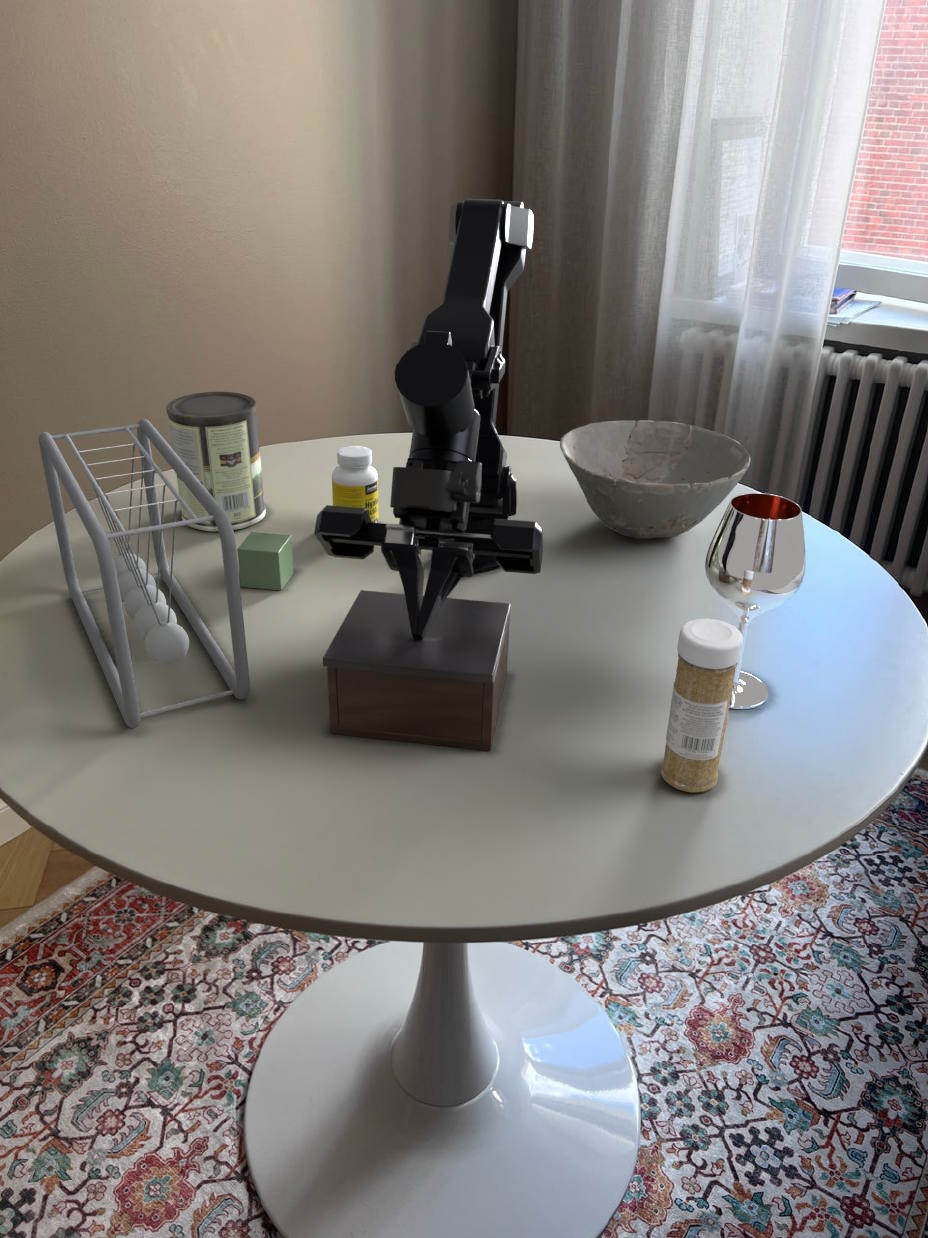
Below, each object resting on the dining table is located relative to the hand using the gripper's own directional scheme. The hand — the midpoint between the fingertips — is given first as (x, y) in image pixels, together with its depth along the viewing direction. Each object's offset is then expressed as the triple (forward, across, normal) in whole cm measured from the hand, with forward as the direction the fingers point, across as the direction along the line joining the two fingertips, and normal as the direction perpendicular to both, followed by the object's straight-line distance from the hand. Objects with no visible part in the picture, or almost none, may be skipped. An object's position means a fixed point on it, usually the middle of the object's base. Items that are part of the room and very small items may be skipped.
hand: (417, 637), depth 81 cm
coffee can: (-21, -32, +33) cm, 51 cm away
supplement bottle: (-21, -15, +33) cm, 41 cm away
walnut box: (+4, 0, +8) cm, 9 cm away
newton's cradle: (0, -28, +12) cm, 30 cm away
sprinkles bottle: (+9, +23, +3) cm, 25 cm away
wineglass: (-1, +27, +13) cm, 30 cm away
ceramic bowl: (-26, +20, +38) cm, 50 cm away
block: (-10, -21, +22) cm, 32 cm away
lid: (-1, 0, +2) cm, 2 cm away
